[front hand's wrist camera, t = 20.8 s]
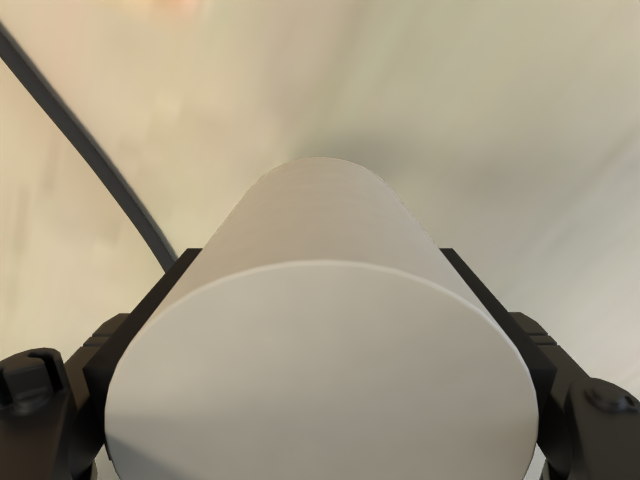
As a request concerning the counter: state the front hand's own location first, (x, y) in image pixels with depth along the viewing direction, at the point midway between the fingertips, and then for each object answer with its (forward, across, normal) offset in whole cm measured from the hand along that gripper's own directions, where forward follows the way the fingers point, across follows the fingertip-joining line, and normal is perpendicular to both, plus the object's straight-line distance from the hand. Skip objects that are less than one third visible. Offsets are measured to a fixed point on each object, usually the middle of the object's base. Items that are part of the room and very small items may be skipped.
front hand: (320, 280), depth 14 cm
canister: (+3, 0, 0) cm, 3 cm away
